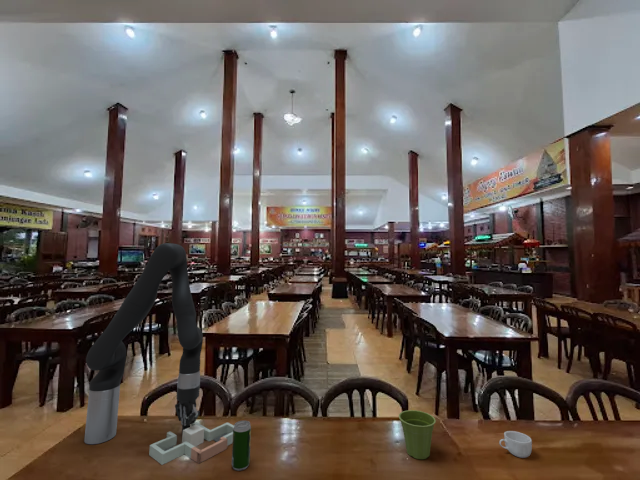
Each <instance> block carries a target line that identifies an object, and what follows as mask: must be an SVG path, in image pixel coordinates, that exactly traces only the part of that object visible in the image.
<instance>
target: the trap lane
mask: <svg viewBox="0 0 640 480" xmlns="http://www.w3.org/2000/svg"><path fill="white" fill-rule="evenodd" d="M194 425H198V426H200V427H202V428H204V440H206V441H207V442H211V441H214V442H213V444H210V445H207V446H206V447H205V448H202V449H200V448H198V447H197V446H193V445H192V444H190V443H188V442H187V441H186V442H184V443H182V442H181V443H180V444H177V441H178V435H177V434H175V433H174V432H172V431H167V432H166V438H163V439H161V440H159V441H156V442H154V443H152V444H149V450H148V451H149V452H148V453H149V454H148V455H149V457H151V458H152V459H154V460H155V461H156V462H157V463H159V464H160V465H162V466H163V465H165V464H167V463H169V462H171V461H173V460H175V459H177V458H179V457H181V456H183V455H185V456H187V457H188V458H189V459H191V460H192V461H194V462H195V463H197V464H200V463H202V462H205V461H206V460H208V459H210V458H212V457H215V456H216V455H218V454H220V453H222V452H224V451H226V450H227V449H228V446H230V445H231V444H233V428H234V424H232V423H230V422H228V421H227V422H225V423H222V424H221V425H218V426H216V427H214V428H212V429H209V428H207V427H206V426H204V425H202V424H200V423H198V422H196V421H195V423H192V424H190V427H191V426H194Z"/></svg>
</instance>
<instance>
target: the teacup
mask: <svg viewBox="0 0 640 480" xmlns="http://www.w3.org/2000/svg"><path fill="white" fill-rule="evenodd" d="M503 436H504V437H503V438H502V439H499V441H498V442H499V446H500V447H502V448H503V449H505V450H508V452H509V453H510V454H512V455H513V456H515V457H516V458H522V459H525V458H528V457H529V456H530V455H531V453H532V449H533V448H532V445H533V441H532V440H533V439H532V438H531V437H530V436H529V435H527V434H525V433H522V432H519V431H515V430H507V431H504V433H503ZM502 442H504V445H505V446H504V445H502Z"/></svg>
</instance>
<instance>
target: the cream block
mask: <svg viewBox="0 0 640 480" xmlns="http://www.w3.org/2000/svg"><path fill="white" fill-rule="evenodd" d="M181 436H182V439H181V444H182V443H184V442H186V441H187V442H188V443H190V444H192V445H193V446H195V447H197V446H199V445H202V444H203V443H204V440H205V439H204V428H202V427H200V426H198V425H194V426H191V425H190V427H189V428H187V429H184V430H183V435H181Z"/></svg>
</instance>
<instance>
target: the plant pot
mask: <svg viewBox="0 0 640 480" xmlns="http://www.w3.org/2000/svg"><path fill="white" fill-rule="evenodd" d="M398 418H399V420H400V425H401V427H402V432H403V437H404V443H405V448H406V454H408V455H409V456H410V457H413V458H414V459H417V460H427V459H428V458H429V457H430V455H431V447H432V437H433V431H434V425H435V424H436V421H437V420H436V418H435V417H434V416H433V415H431V414H430V413H428V412H424V411H423V410H415V409H414V410H413V409H410V410H407V409H406V410H404V411H401V412H400V413H398Z"/></svg>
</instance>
